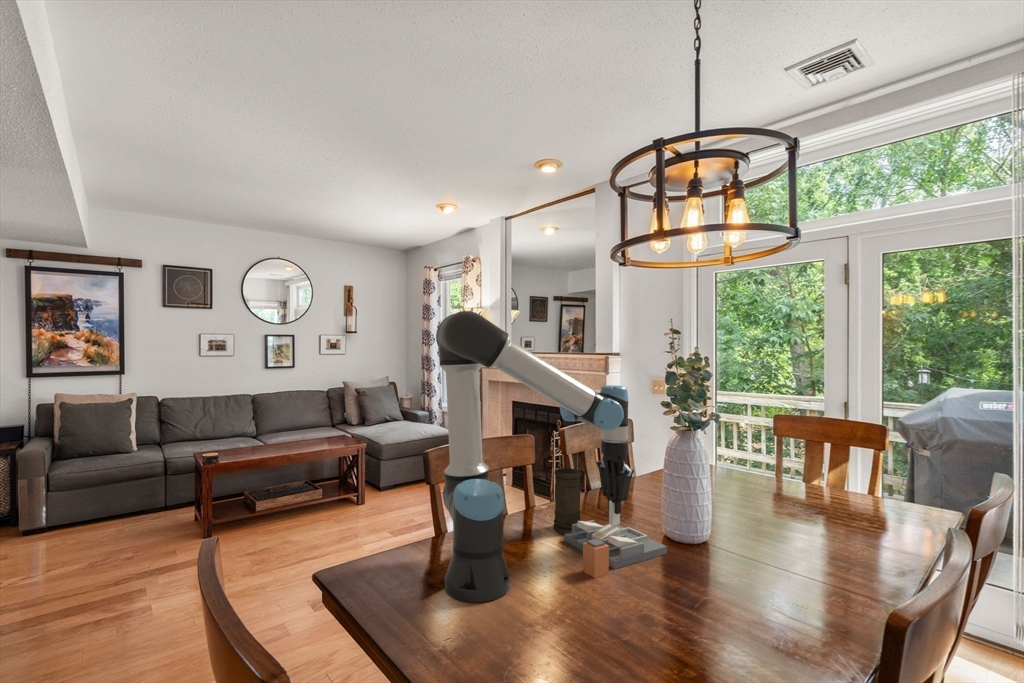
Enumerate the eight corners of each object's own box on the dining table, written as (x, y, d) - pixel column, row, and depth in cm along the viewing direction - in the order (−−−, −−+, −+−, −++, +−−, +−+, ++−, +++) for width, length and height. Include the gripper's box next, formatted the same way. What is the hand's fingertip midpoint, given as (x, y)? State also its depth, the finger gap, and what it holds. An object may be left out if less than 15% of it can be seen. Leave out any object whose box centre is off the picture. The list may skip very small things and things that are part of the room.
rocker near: (618, 546, 128) (619, 540, 128) (607, 541, 131) (609, 535, 131) (637, 548, 131) (638, 542, 131) (626, 543, 135) (627, 537, 135)
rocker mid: (602, 544, 134) (601, 538, 133) (592, 539, 137) (591, 534, 137) (620, 533, 137) (619, 527, 137) (610, 529, 141) (609, 523, 140)
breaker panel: (614, 569, 124) (614, 551, 125) (564, 541, 142) (564, 525, 143) (666, 553, 134) (667, 537, 134) (613, 529, 152) (613, 515, 152)
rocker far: (585, 530, 139) (586, 524, 139) (576, 526, 142) (577, 520, 143) (603, 532, 142) (604, 527, 143) (594, 528, 146) (595, 522, 146)
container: (572, 537, 146) (573, 476, 146) (547, 530, 151) (548, 471, 151) (587, 528, 153) (588, 470, 153) (562, 522, 158) (563, 466, 158)
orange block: (594, 578, 119) (594, 546, 120) (582, 570, 123) (583, 540, 123) (608, 574, 122) (608, 543, 122) (596, 567, 126) (596, 537, 126)
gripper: (641, 442, 135) (641, 528, 135) (608, 435, 146) (608, 515, 146) (621, 445, 131) (621, 534, 131) (589, 437, 142) (589, 519, 142)
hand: (614, 524), depth 138 cm, fingers closed
